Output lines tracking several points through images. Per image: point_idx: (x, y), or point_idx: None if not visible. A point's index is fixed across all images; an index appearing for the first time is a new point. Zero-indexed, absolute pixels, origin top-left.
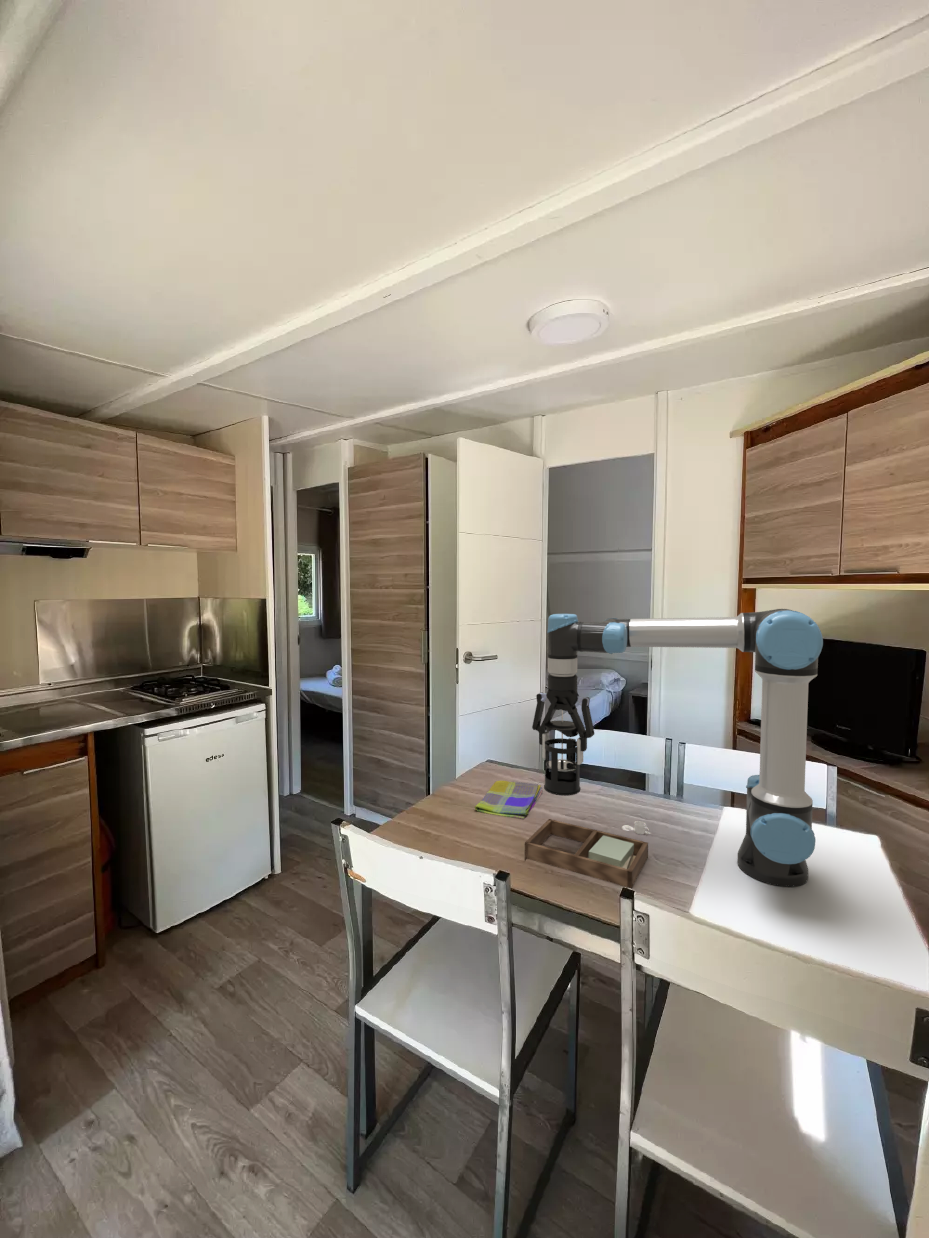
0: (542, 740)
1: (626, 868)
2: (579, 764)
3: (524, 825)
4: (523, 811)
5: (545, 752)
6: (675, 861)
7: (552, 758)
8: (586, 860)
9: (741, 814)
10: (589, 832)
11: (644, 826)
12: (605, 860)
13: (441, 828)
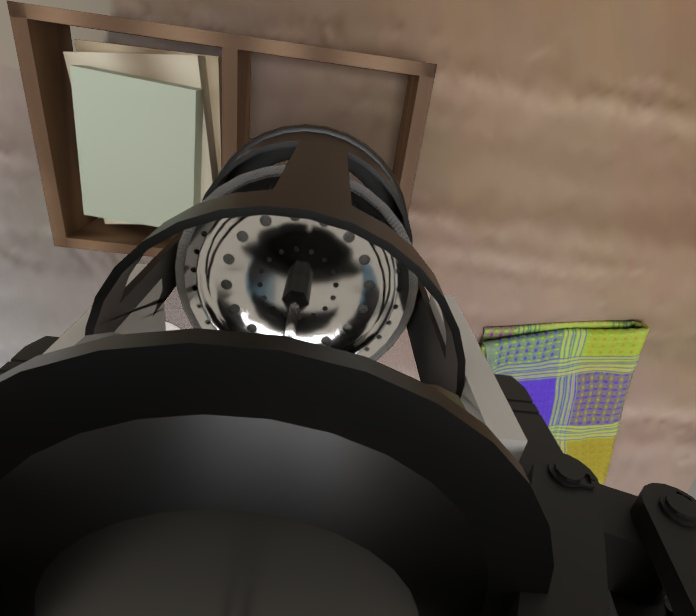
0: (498, 387)
1: (70, 77)
2: (139, 265)
3: (473, 293)
4: (491, 348)
5: (439, 326)
6: (24, 257)
7: (337, 185)
8: (186, 27)
9: None
10: None
11: None
12: (136, 76)
13: None
